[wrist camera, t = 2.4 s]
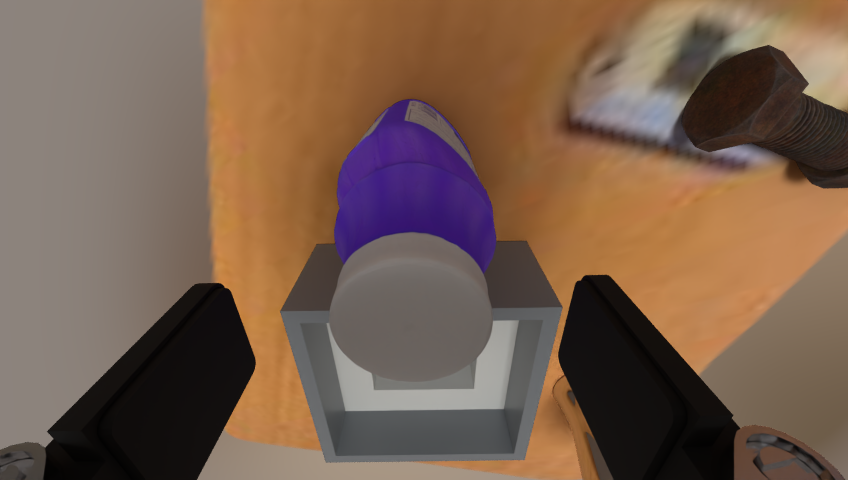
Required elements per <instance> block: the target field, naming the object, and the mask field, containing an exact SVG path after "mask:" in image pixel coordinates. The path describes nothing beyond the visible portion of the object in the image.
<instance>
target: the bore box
mask: <svg viewBox="0 0 848 480" xmlns="http://www.w3.org/2000/svg"><path fill="white" fill-rule="evenodd" d="M343 266H344V264H343V262H342V260H341V258H340V256H339V255H338V252H337V249H336V244H317V245H316V247H315V248H314V250H313V252H312V254H311V256H310V258H309V259H308V261H307V263H306V265H305V267H304V269H303V270H302V272H301V274H300V276H299V278H298V280H297V281H296V283H295V285H294V287H293V289H292V291H291V292H290V294H289V296H288V298H287V300H286V302H285V303H284V305H283V307H282V309H281V311H280V313H281V316H282V319H283V322H284V326H285V329H286V332H287V336H288V339H289V342H290V346H291V349H292V352H293V356H294V359H295V362H296V365H297V369H298V372H299V375H300V379H301V382H302V385H303V389H304V392H305V395H306V398H307V402H308V405H309V408H310V412H311V415H312V418H313V422H314V425H315V428H316V431H317V435H318V438H319V441H320V445H321V448H322V451H323V455H324V458H325V461H326V462H396V461H397V462H400V461H479V460H525V456H526V452H527V448H528V444H529V440H530V436H531V432H532V428H533V424H534V420H535V416H536V412H537V408H538V404H539V400H540V396H541V392H542V388H543V384H544V380H545V376H546V372H547V368H548V364H549V360H550V356H551V352H552V348H553V344H554V340H555V336H556V332H557V328H558V324H559V320H560V316H561V312H562V308H563V307H562V305H561V303H560V302H559V300H558V298H557V296H556V294H555V293H554V291H553V289H552V287H551V285H550V283H549V282H548V280H547V278H546V276H545V274H544V272H543V271H542V269H541V267H540V265H539V263H538V261H537V260H536V258H535V256H534V254H533V252H532V250H531V249H530V247H529V245H528V243H527V241H496V247H495V251H494V255H493V258H492V260H491V262H490V263H489V266H488V268H487V269H486V271H485V273H484V277H485V280H486V283H487V287H488V296H489V300H490V303H491V307H492V313H493V326H492V332H491V335H490V339H489V341H488V343H487V345H486V347H485V349H484V350H483V351H482V353H481V354H480V355H479V356H478V358H476V359H475V360H474V361H473V362H472V363H471V364H469V365H468V366H466V367H465V368H463V369H461V370H460V371H458V372H456V373H454V374H452V375H450V376H446V377H443V378H440V379H436V380H431V381H424V382H404V381H395V380H390V379H386V378H382V377H380V376H377V375H375V374H373V373H370V372H368V371H366V370H364V369H362V368H361V367H359V366H358V365H356V364H355V363H354V362H352V361H351V360H350V359H349V358H348V357H347V356H346V355H345V354H344V353H343V352H342V351H341V349H340V348H339V347H338V345H337V344H336V342H335V340H334V338H333V336H332V332H331V329H330V325H329V315H330V306H331V302H332V299H333V296H334V293H335V290H336V288H337V283H338V278H339V275H340V273H341V270H342V268H343Z"/></svg>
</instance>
